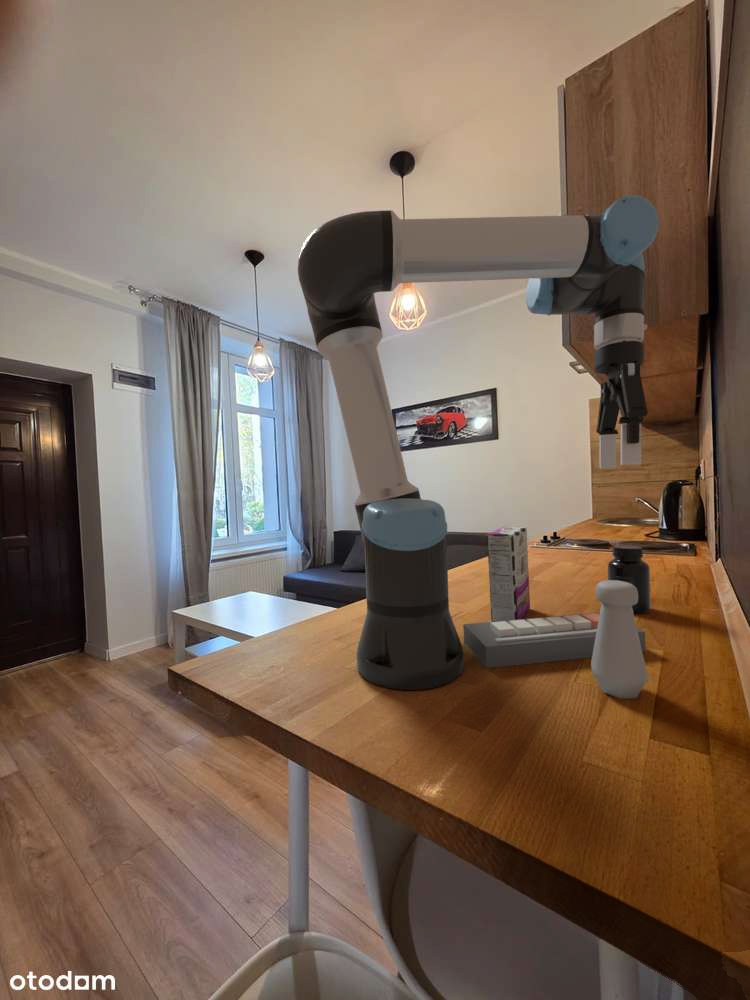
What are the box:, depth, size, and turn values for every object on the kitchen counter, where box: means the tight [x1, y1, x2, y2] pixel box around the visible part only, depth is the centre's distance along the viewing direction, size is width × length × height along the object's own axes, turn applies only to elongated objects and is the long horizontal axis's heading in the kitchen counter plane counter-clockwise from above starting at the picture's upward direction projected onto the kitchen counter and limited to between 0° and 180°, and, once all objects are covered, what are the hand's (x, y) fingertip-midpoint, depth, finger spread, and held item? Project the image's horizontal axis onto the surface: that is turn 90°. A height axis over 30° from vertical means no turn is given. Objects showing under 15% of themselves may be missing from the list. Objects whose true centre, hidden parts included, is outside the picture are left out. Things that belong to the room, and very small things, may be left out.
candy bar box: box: [486, 526, 531, 622], centre depth 74 cm, size 11×5×16 cm, turn 147°
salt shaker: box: [590, 579, 649, 700], centre depth 47 cm, size 6×6×13 cm
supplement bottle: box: [607, 545, 652, 614], centre depth 75 cm, size 7×7×12 cm
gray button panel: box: [462, 611, 646, 669], centre depth 60 cm, size 24×9×4 cm, turn 97°
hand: (618, 466), depth 70 cm, fingers open, 13 cm apart
